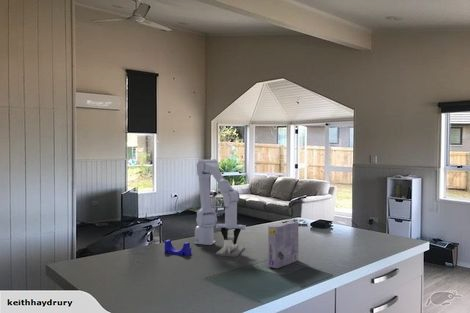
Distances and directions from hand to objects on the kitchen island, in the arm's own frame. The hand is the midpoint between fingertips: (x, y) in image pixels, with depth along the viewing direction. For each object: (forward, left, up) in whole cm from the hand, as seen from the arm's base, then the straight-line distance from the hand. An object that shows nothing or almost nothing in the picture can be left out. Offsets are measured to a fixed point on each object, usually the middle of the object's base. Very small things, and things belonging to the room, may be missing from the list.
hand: (230, 243), depth 199 cm
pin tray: (0, 0, -4) cm, 4 cm away
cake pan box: (+28, -12, -4) cm, 31 cm away
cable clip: (-23, -11, -4) cm, 26 cm away
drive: (0, 0, -2) cm, 2 cm away
